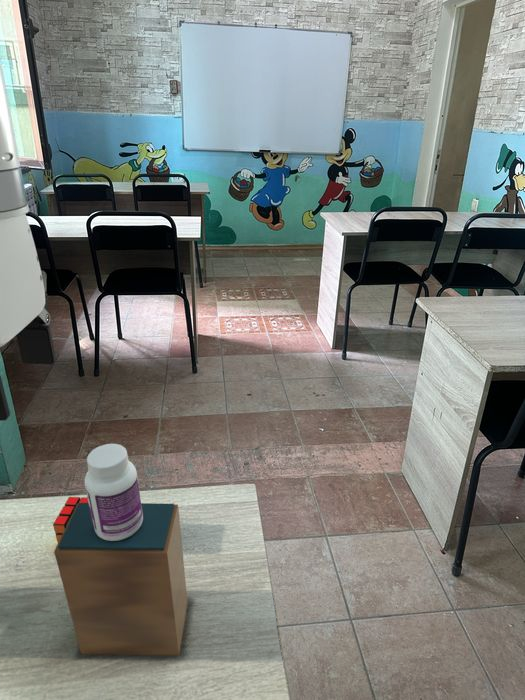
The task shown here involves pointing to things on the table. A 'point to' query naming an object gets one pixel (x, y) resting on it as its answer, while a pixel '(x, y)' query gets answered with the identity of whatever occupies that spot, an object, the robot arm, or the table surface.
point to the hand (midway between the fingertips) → (17, 387)
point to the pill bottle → (113, 493)
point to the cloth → (144, 538)
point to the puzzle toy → (66, 515)
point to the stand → (127, 596)
